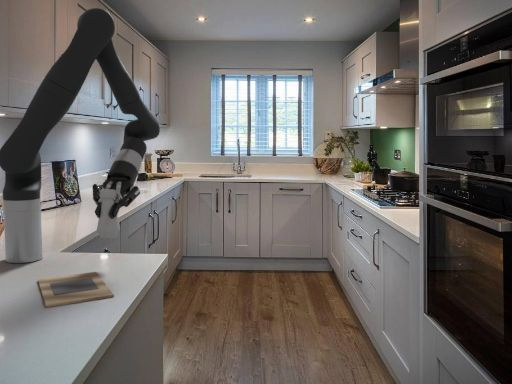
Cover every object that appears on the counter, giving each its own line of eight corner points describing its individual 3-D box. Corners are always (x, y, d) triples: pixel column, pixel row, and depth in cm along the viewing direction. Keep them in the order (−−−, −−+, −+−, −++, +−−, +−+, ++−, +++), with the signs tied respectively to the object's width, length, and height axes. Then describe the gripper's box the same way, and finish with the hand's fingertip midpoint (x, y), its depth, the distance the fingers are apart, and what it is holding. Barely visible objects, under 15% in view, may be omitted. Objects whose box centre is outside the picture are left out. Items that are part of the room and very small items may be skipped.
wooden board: (38, 281, 103) (38, 278, 103) (95, 273, 110) (95, 271, 110) (46, 307, 86) (46, 304, 86) (113, 296, 93) (113, 293, 93)
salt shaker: (112, 240, 113) (112, 190, 112) (92, 238, 114) (92, 189, 113) (123, 236, 119) (123, 188, 118) (104, 234, 120) (104, 187, 119)
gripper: (97, 158, 123) (73, 206, 112) (145, 160, 121) (125, 209, 110) (107, 176, 129) (85, 223, 118) (152, 178, 127) (134, 226, 116)
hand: (104, 216), depth 114 cm, fingers closed on salt shaker, 3 cm apart
